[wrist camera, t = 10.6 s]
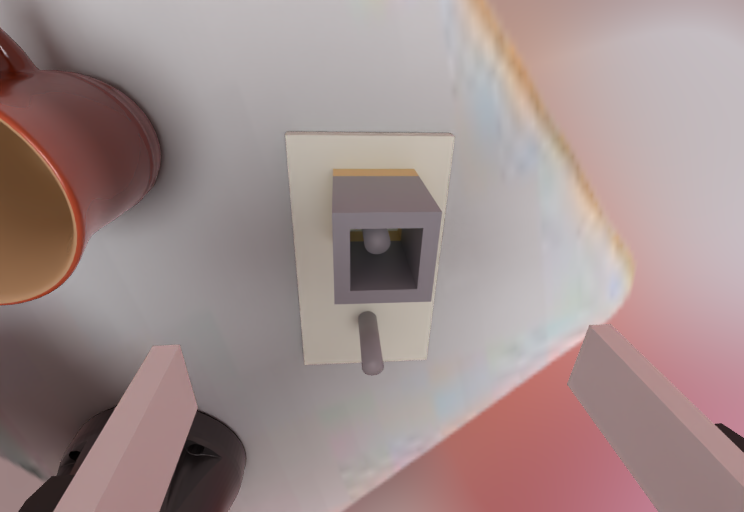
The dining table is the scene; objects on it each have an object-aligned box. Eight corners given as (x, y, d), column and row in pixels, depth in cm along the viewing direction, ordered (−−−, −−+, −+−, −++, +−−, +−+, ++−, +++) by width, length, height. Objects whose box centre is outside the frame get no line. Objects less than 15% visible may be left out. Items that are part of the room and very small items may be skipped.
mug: (204, 196, 24) (125, 284, 15) (70, 221, 24) (-87, 324, 15) (107, -37, 18) (-116, -120, 9) (-69, -2, 18) (-460, -49, 9)
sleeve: (334, 242, 25) (334, 304, 19) (333, 168, 23) (331, 212, 17) (408, 241, 26) (431, 301, 20) (414, 168, 23) (442, 212, 17)
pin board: (305, 356, 31) (299, 418, 26) (287, 131, 22) (272, 156, 17) (423, 351, 32) (441, 410, 27) (450, 133, 23) (483, 157, 18)
